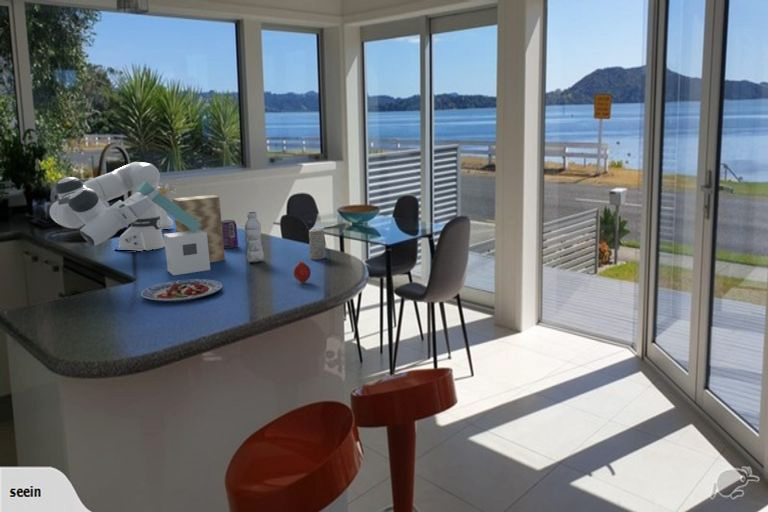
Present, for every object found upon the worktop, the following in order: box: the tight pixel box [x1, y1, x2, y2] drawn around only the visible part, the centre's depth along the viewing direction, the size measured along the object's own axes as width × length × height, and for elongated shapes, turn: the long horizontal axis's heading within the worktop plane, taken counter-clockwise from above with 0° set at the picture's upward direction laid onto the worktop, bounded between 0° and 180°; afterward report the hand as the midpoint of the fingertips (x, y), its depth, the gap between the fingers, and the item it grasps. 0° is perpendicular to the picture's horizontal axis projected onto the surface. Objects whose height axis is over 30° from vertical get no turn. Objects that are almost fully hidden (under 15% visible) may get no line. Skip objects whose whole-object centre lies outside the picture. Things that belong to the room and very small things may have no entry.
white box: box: [163, 230, 211, 276], centre depth 254 cm, size 14×9×14 cm, turn 121°
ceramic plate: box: [140, 278, 223, 303], centre depth 220 cm, size 26×26×3 cm
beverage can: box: [221, 219, 239, 249], centre depth 297 cm, size 7×7×12 cm
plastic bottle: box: [244, 211, 265, 263], centre depth 263 cm, size 6×7×20 cm
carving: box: [308, 228, 326, 261], centre depth 266 cm, size 6×8×12 cm
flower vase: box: [158, 181, 178, 230], centre depth 351 cm, size 13×18×25 cm
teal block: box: [137, 181, 201, 232], centre depth 248 cm, size 26×4×4 cm
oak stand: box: [172, 194, 226, 263], centre depth 269 cm, size 16×10×26 cm, turn 121°
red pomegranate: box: [293, 260, 311, 284], centre depth 228 cm, size 6×6×8 cm
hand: (155, 190), depth 244 cm, fingers closed on teal block, 4 cm apart
